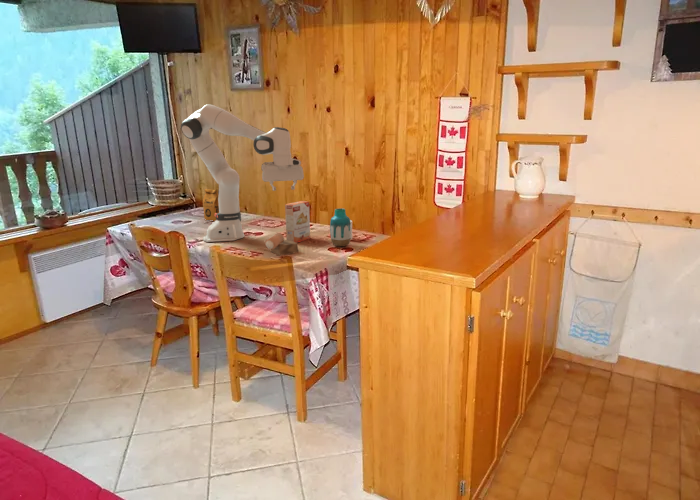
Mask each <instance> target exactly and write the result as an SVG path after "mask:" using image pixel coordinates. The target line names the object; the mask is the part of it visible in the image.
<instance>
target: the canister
mask: <svg viewBox="0 0 700 500" xmlns="http://www.w3.org/2000/svg"><path fill="white" fill-rule="evenodd" d="M284 240H285V237H284V235H283V234H282V233H280V232H277V233H275V234H273V235H272V236H271V237H269V238H268V239H266V240H265V242H264V243H265V247H266V248H267V249H268V250H270V251H271V250H272V249H274V248H275V247H277V246H278V245H280V244H281V243H282V242H283V241H284Z"/></svg>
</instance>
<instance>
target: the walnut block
mask: <svg viewBox="0 0 700 500" xmlns="http://www.w3.org/2000/svg"><path fill="white" fill-rule="evenodd" d="M298 248H299V247H298V243H296V242H293V241H291V240H287V239H284V241H283V242H282V243H281V244H280V245H278V246H277V247H275V248H274V249H272V250H270V252H271V253H273V254H275V255H277V256H285V255H290V254H295V253H296V254H297V253H298V252H299V251H298V250H299V249H298Z"/></svg>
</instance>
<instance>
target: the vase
mask: <svg viewBox="0 0 700 500" xmlns="http://www.w3.org/2000/svg"><path fill="white" fill-rule="evenodd" d="M350 220H351V218H350V217H349V216H347V214H346V208H343V207H342V208H335V209H334V215H333V216H331V218H330V222H329V223H330V225H329V226H330V227H329V229H330V230H329V232H330V241H331V243H332V244H333V245H334V246H336V247H346V246H348V245H349V244H350V242H351V222H350Z"/></svg>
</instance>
